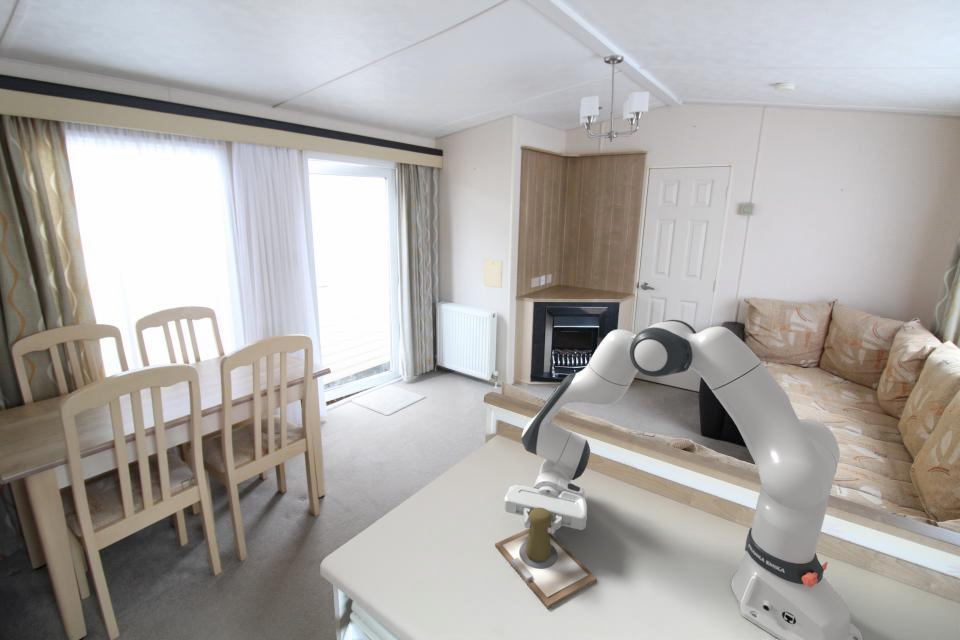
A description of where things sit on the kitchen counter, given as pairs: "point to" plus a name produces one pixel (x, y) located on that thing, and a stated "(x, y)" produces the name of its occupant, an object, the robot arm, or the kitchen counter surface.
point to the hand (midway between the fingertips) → (538, 528)
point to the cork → (539, 535)
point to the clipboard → (546, 569)
